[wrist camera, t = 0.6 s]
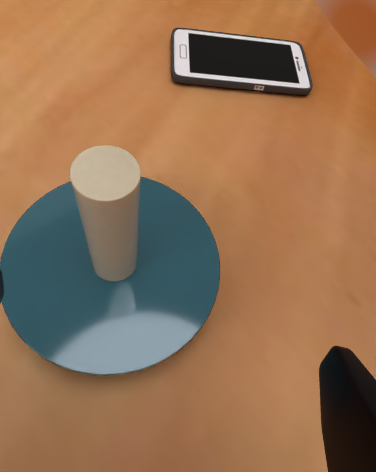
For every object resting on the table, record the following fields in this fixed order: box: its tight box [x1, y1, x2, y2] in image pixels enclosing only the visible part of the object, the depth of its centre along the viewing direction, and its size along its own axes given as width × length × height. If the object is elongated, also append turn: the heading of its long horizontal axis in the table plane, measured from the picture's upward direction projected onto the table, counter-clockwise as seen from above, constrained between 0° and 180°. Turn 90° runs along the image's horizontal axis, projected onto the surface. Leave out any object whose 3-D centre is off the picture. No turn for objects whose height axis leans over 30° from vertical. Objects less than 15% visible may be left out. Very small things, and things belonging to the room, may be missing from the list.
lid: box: [0, 145, 220, 376], centre depth 19 cm, size 13×13×10 cm
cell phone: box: [171, 28, 312, 95], centre depth 38 cm, size 8×15×1 cm, turn 91°
